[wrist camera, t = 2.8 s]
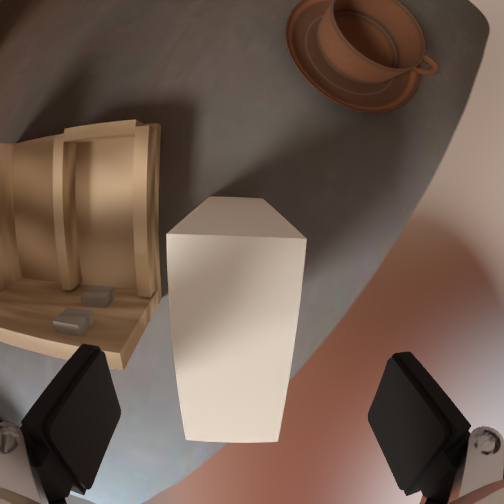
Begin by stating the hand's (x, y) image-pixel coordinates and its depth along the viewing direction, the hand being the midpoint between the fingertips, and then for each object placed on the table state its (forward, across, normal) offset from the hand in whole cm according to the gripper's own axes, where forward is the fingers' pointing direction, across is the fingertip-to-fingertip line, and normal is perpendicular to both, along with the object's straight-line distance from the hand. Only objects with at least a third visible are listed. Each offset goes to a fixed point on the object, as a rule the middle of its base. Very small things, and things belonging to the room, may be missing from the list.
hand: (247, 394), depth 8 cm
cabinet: (+15, +15, -4) cm, 21 cm away
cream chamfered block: (+15, +1, 0) cm, 15 cm away
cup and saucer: (+16, -8, -18) cm, 25 cm away
